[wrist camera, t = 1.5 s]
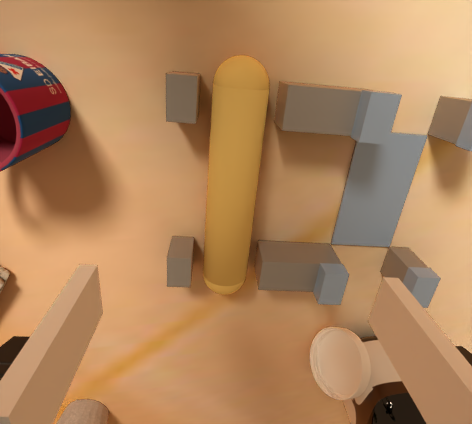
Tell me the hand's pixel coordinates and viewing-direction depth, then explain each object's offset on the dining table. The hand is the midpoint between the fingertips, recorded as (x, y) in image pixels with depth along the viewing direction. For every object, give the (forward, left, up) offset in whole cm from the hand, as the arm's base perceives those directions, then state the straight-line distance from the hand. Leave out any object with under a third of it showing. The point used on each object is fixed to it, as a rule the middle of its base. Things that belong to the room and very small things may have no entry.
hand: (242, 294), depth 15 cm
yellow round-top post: (0, 0, -14) cm, 14 cm away
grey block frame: (0, +6, -14) cm, 16 cm away
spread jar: (+20, +16, -15) cm, 29 cm away
